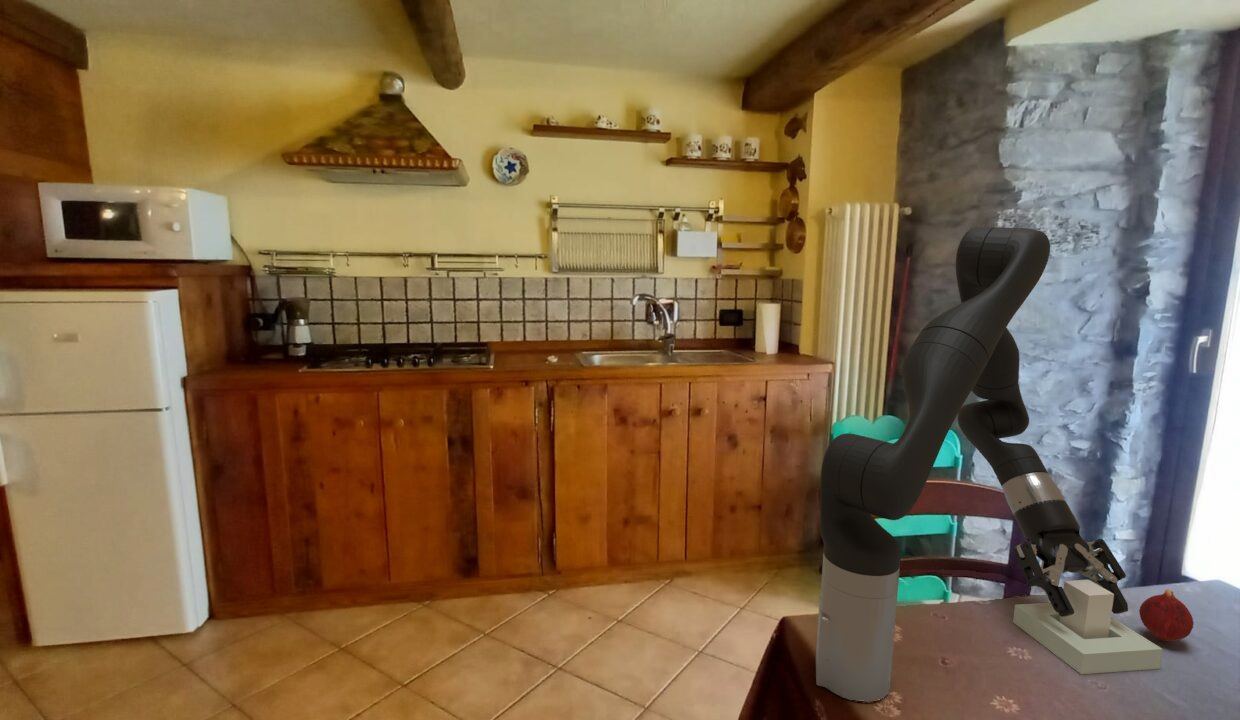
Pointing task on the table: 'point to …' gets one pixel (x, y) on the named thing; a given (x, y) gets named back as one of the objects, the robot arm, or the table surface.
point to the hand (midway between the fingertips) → (1094, 614)
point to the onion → (1166, 617)
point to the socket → (1088, 643)
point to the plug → (1088, 609)
